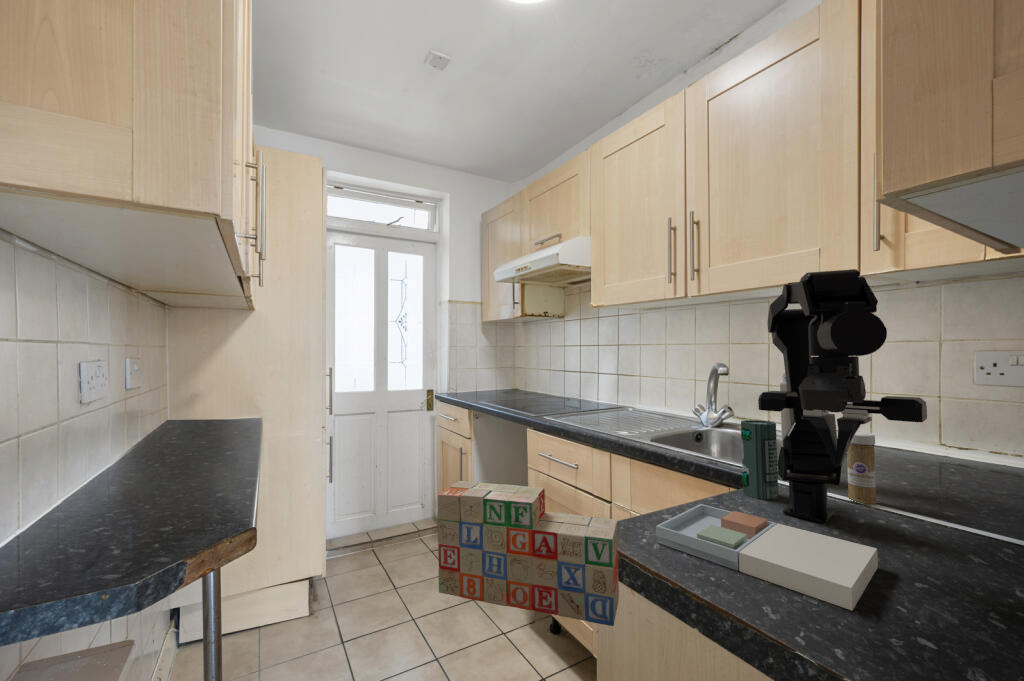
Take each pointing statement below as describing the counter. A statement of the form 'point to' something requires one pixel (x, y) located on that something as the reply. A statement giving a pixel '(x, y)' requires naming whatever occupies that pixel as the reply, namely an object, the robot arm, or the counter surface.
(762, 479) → the can
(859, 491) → the sprinkles bottle
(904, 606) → the counter surface
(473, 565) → the stack of blocks
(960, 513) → the counter surface
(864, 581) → the board
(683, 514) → the box
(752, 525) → the tile terracotta
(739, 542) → the tile sage
